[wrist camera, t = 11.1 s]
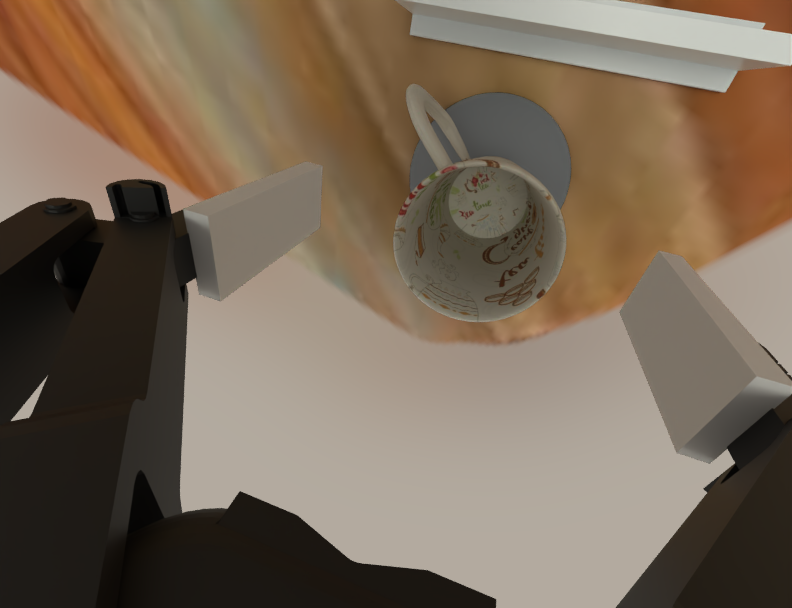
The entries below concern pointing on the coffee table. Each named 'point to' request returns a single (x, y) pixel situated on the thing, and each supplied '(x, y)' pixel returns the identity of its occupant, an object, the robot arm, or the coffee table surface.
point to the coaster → (504, 139)
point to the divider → (608, 37)
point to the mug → (475, 229)
